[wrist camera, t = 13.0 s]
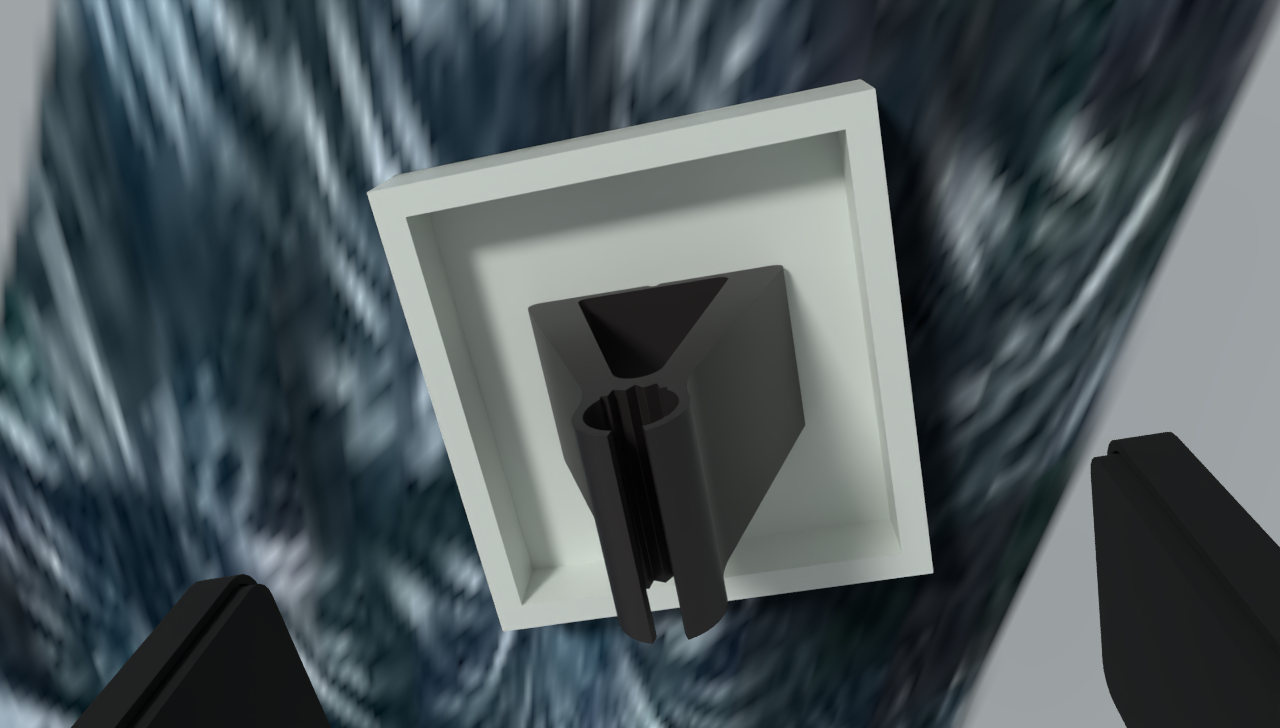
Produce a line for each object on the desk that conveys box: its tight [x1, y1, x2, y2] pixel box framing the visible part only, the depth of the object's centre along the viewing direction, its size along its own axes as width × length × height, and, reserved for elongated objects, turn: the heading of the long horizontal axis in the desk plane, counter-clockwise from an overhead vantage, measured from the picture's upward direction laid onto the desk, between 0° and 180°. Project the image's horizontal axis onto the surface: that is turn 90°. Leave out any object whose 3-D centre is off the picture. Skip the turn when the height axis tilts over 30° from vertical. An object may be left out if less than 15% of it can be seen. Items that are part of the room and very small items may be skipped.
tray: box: [367, 79, 933, 631], centre depth 34 cm, size 16×17×3 cm
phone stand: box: [528, 265, 805, 644], centre depth 29 cm, size 9×6×12 cm, turn 101°
